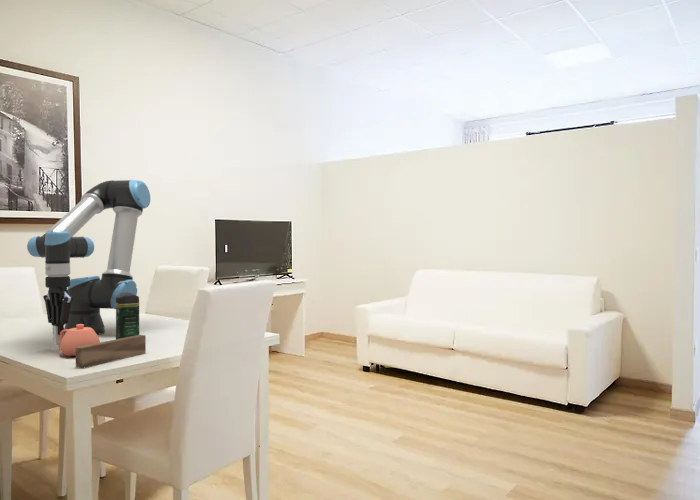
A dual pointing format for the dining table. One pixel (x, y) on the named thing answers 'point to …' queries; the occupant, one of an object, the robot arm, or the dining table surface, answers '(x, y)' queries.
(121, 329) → the coffee jar
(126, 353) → the board
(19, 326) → the dining table surface
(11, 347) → the dining table surface
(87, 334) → the sugar bowl
